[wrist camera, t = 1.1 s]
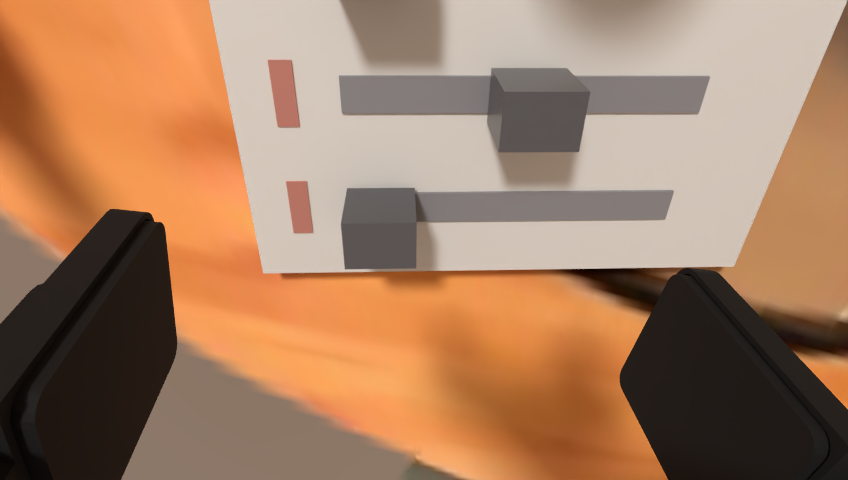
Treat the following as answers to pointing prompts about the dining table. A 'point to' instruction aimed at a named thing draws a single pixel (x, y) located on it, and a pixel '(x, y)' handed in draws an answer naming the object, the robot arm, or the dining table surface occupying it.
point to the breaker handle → (536, 109)
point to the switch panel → (473, 143)
